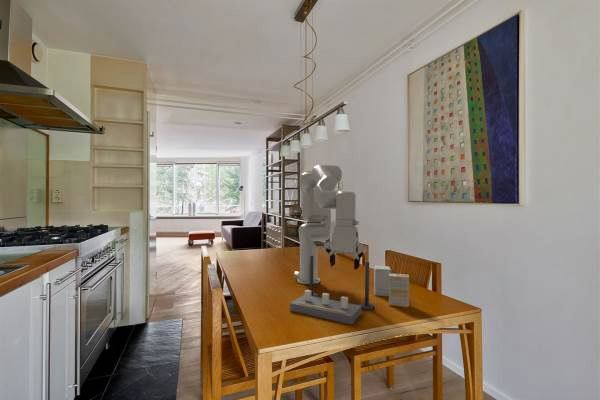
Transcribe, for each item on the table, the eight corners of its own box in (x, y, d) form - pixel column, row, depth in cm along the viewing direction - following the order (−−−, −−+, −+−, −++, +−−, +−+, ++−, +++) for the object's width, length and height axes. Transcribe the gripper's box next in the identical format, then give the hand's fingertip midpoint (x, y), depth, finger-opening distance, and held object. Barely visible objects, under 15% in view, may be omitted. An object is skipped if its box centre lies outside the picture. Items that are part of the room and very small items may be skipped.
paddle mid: (321, 303, 118) (322, 294, 118) (323, 302, 119) (323, 292, 119) (327, 305, 117) (327, 295, 117) (329, 303, 118) (329, 293, 118)
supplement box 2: (408, 304, 127) (409, 274, 127) (409, 308, 123) (409, 277, 123) (388, 302, 130) (389, 272, 130) (388, 305, 126) (388, 275, 126)
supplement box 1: (390, 296, 138) (391, 269, 137) (374, 295, 139) (374, 268, 139) (389, 291, 145) (389, 266, 145) (373, 290, 146) (374, 265, 146)
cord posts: (302, 297, 135) (302, 256, 135) (308, 294, 140) (309, 254, 140) (371, 311, 119) (372, 264, 119) (375, 306, 124) (376, 261, 124)
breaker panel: (290, 310, 119) (290, 302, 119) (304, 301, 130) (304, 294, 130) (351, 324, 107) (351, 315, 107) (361, 313, 117) (361, 305, 117)
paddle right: (340, 307, 114) (340, 297, 114) (342, 306, 116) (342, 296, 116) (346, 308, 113) (346, 298, 113) (348, 307, 114) (348, 297, 114)
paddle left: (304, 300, 122) (304, 290, 122) (306, 299, 123) (306, 289, 123) (309, 301, 121) (309, 291, 121) (311, 300, 122) (311, 290, 122)
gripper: (370, 224, 113) (368, 268, 114) (328, 221, 122) (327, 262, 122) (364, 225, 107) (363, 272, 107) (320, 222, 115) (320, 266, 116)
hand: (344, 267), depth 115 cm, fingers open, 9 cm apart
